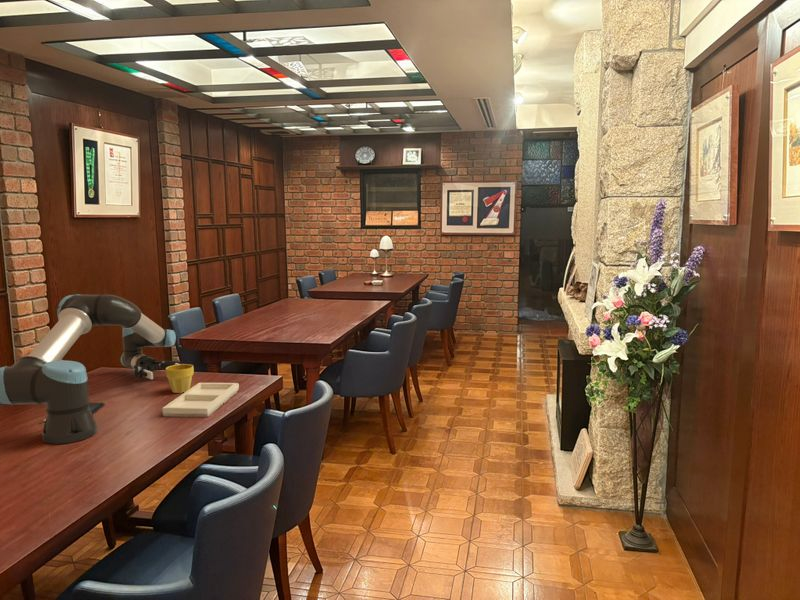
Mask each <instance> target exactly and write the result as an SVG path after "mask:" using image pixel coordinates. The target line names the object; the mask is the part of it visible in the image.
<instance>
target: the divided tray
mask: <svg viewBox="0 0 800 600" xmlns="http://www.w3.org/2000/svg"><path fill="white" fill-rule="evenodd" d="M239 387H240V386H239V383H238V382H198V383H196V384H195V385H193V386H192V387H190V389H189V390H188V391H186V392H184V393H181V394H180V395H179V396H178V397H176V398H175V399H174V400H172V401H170V402H168V404H166V405H165V406H163V407H162V408H161V409H162V411H161V412H162V417H179V418H180V417H183V418H184V417H186V418H187V417H188V418H190V417H191V418H209V417H210V416H211V415H212V414H214V412H216V411H217V410H218V409H220V408H221V406H222V405H223V403H224V404H225V403H226V402H227V401H229V400H230V399H231V398H232V397H233V396H234V395H235V394H237V393H238V392H239V391H238V390H240V388H239ZM237 391H238V392H237ZM230 397H231V398H230Z"/></svg>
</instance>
